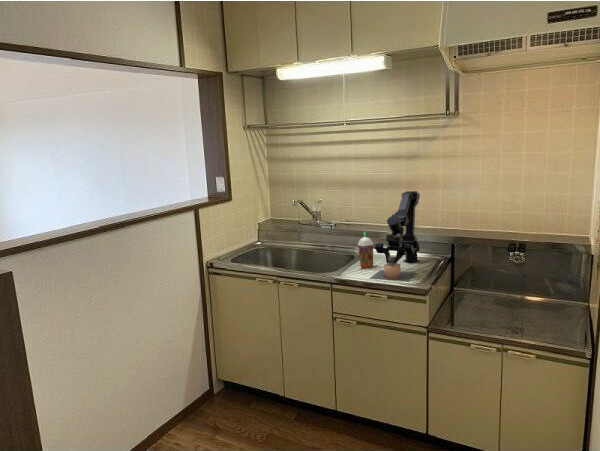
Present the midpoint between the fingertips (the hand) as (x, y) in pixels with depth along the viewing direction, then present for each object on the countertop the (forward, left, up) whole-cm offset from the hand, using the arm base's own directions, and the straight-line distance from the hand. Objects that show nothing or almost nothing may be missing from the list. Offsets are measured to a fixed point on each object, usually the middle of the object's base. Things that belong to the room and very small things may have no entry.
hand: (391, 263), depth 220 cm
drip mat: (-3, +3, -8) cm, 9 cm away
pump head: (0, 0, -1) cm, 1 cm away
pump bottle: (-1, +1, -7) cm, 7 cm away
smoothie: (-26, +2, -8) cm, 27 cm away
